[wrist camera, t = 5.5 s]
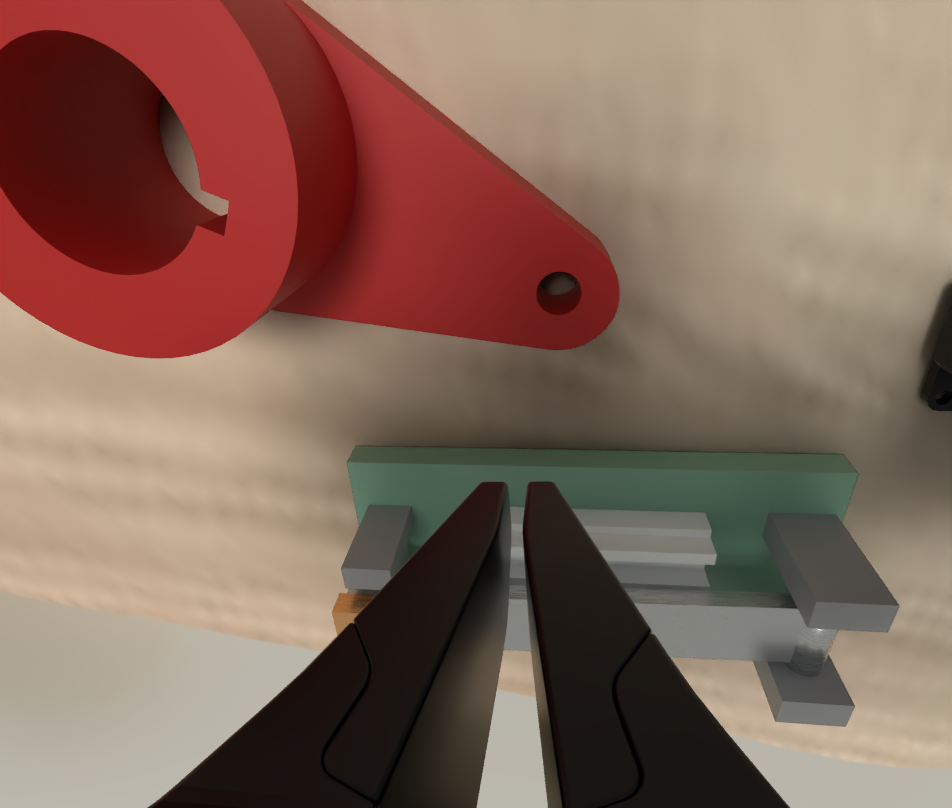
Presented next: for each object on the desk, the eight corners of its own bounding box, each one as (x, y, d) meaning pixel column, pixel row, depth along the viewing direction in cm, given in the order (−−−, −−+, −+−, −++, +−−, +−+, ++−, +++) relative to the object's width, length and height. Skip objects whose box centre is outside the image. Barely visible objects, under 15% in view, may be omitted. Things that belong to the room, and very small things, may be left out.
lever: (91, 225, 20) (-94, 276, 14) (97, -99, 15) (-171, -215, 10) (549, 404, 22) (551, 517, 16) (678, 158, 17) (747, 190, 11)
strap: (835, 581, 20) (864, 626, 18) (812, 644, 21) (837, 691, 20) (346, 566, 22) (330, 606, 20) (359, 626, 23) (345, 668, 22)
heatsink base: (842, 454, 21) (931, 560, 16) (785, 634, 26) (840, 757, 21) (355, 445, 23) (306, 536, 18) (386, 612, 28) (353, 719, 23)
